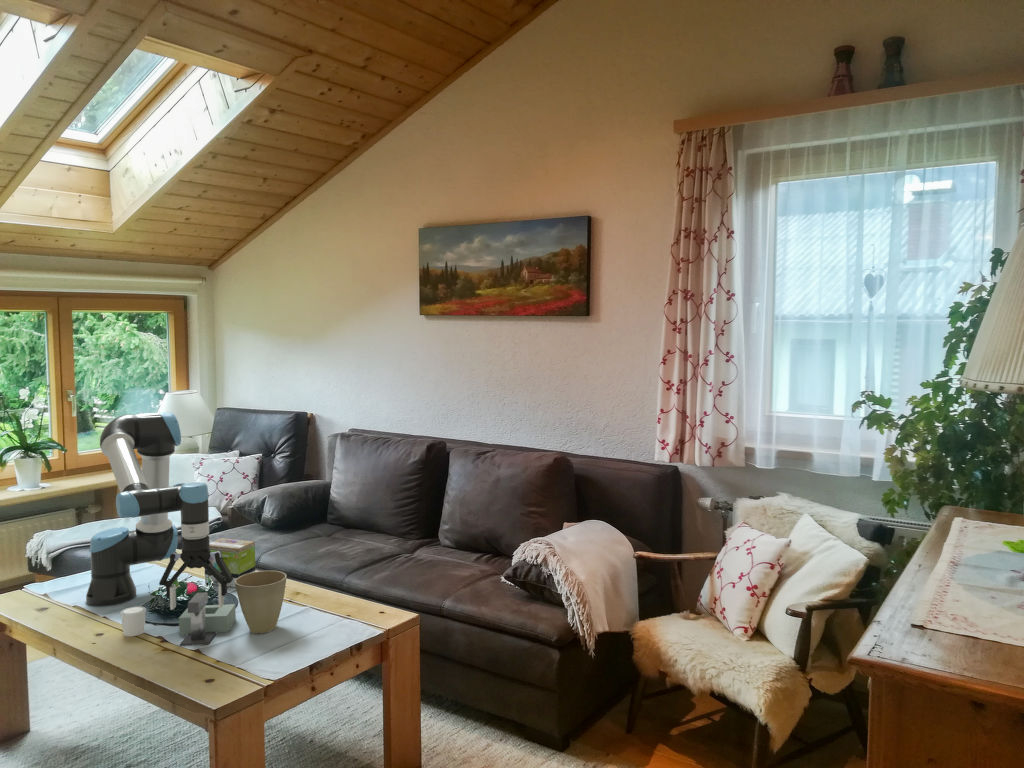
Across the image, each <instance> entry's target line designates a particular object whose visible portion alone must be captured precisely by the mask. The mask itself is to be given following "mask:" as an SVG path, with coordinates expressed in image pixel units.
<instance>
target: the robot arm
mask: <svg viewBox="0 0 1024 768" xmlns="http://www.w3.org/2000/svg"><path fill="white" fill-rule="evenodd" d="M181 443H182V435H181V428H180V423H179V421H178V419H177V417H176V415H175V414H174V413H173V412H160V411H159V412H149V413H135V414H133V413H132V414H130V413H129V414H123V415H121V416H116V418H114V419H112V420H111V421H110V422H109V423H107V424H106V425H105V427H104V428H103V430H102V432H101V435H100V437H99V446H100V449H101V452H102V454H103V455H104V456H105V457H106V458H107V459H108V462H109V464H110V465H109V466H110V468H111V471H112V472H113V476H114V478H115V481H116V484H117V488H118V490H119V493H117V494H116V497H115V508H116V512H117V516H118V517H119V518H121V519H128V518H132V519H133V518H137V517H138V518H139V517H140V520H139V521H138V522H136V524H135V530H129V528H127V527H125V526H122V527H114V528H113V527H112V528H108V529H104V530H102V531H99V532H98V533H95V534H94V535H93V536H92V537H91V538H90V543H89V544H90V545H89V552H90V572H91V573H90V574H91V576H90V577H91V578H90V579H91V580H90V582H89V586H88V588H87V592H86V596H85V597H86V599H85V600H86V604H87V605H88V606H95V607H103V606H104V607H105V606H106V607H107V606H113V605H114V606H115V605H118V604H123V603H125V602H129V601H131V600H132V599H135V597H137V587H136V585H135V583H134V579H133V577H132V574H131V570H130V569H131V567H130V566H135V565H141V564H146V563H151V562H153V563H154V562H160V561H162V560H163V561H164V560H168V559H169V562H168V565H167V566H166V568H165V569H164V573H163V575H162V576H161V579H160V580H159V582H158V584H159V586H164V587H165V590H166V592H165V593H166V598H168V599H169V603H170V604H169V608H170V611H171V610H174V609H175V608H176V607H177V595H176V594H177V591H176V590H177V588H176V584H174V583H175V581H176V580H177V579H178V578H179V577H180V576H181V574H183V572H184V571H185V570H186V569H187V568H189V569H202V568H204V570H205V569H206V570H208V571H209V572H210V574H211V575H212V576H213V577H214V578H215V579H216V580H217V581H218V582H219V583H220V585H217V589H218V591H217V592H218V593H217V595H218V605H219V608H222V606H223V605H225V602H224V601H225V596H226V595H227V593H228V586H227V584H228V583H231V581H232V580H233V576H232V575H231V573H230V571H229V569H228V567H227V566H226V564H225V562H224V560H223V559H222V555H221V551H220V550H219V551H217V552H212V553H211V552H210V546H209V543H210V535H209V534H210V518H209V517H210V516H209V512H210V511H209V495H210V493H209V489H208V488H209V487H208V484H206V483H205V482H199V481H196V482H193V481H192V482H187V483H185V482H179V483H176V484H174V485H173V486H170V463H171V462H170V461H171V460H170V459H171V458H170V457H171V456H172V455H173V454H175V452H176V451H175V450H176V447H179V446H180V445H181ZM135 450H136V453H137V455H139V456H140V457H141V464H140V462H139V459H138V457H137V455H136V453H135ZM174 512H180V531H181V537H182V538H181V553H179V552H177V548H178V541H179V540H178V539H179V538H178V535H179V534H178V532H179V531H178V528H177V527H176V525H174V524H173V522H172V520H170V519H169V513H174ZM210 557H213V559H214V560H216V563H217V565H218V566H219V568H220V570H221V572H222V574H223V575H224V576H223V575H222V574H221V573H220V572H219V571H218V570H217V569H216V568H215V567H214V566H213V565H212V563H211V562H210V560H209V559H210ZM178 560H181V561H182V562H183V563H182V565H181V566H180V567H179V568H178V569H177V571H176V572H175V573H173V575H172V576H171V578H170V579H169V577H170V575H171V572H172V570H173V569H174V566H175V565H176V562H177V561H178ZM168 579H169V580H168Z"/></svg>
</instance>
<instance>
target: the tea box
mask: <svg viewBox="0 0 1024 768" xmlns="http://www.w3.org/2000/svg"><path fill="white" fill-rule="evenodd" d="M209 546H210V552H211V553H212V552H217V551H219V550H220V551H221V555H222V559H223V560H224V562H225V564H226V566H227V567H228V569H229V571H230V573H231V575H232V576H233V580H232V581H231V583H228V584H227V587H230V586H231V587H232V588H236V585H235V580H236V579H237V578H238V577H240V576H242V575H245V574H248V573H252V572H256V542H255V541H250V540H242V539H234V538H226V537H225V538H223V537H221V538H218V539H216V540H213V541H211V542H209ZM209 560H210V562H211V563H212V565H213V566H214V567H215V568H216V569H217V570H218V571H219V572H220V573H221V574H222V572H221V570H220V568H219V566H218V565H217V563H216V560H214V559H213V557H210V559H209ZM222 575H223V574H222ZM208 576H209V577H210V578H211V579H212V581H213V584H212V585H215V586H219V585H220V583H219V582H218V581H217V580H216V579H215V578H214V577H213V576H212V575H211V574H210V572H209V571H208V570H206V569H205V568H204V583H205V584H206V583H207V577H208ZM223 576H224V575H223ZM206 585H207V584H206ZM231 587H230V588H231Z"/></svg>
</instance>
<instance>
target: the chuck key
mask: <svg viewBox="0 0 1024 768" xmlns="http://www.w3.org/2000/svg"><path fill="white" fill-rule="evenodd" d="M208 595H209V592H196V594H194V596H193V597H191V599H190V600H189V601H187V608H188V613H191V640H201V639H204V638H205V605H208V603H209V602H208V600H209V599H208Z"/></svg>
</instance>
